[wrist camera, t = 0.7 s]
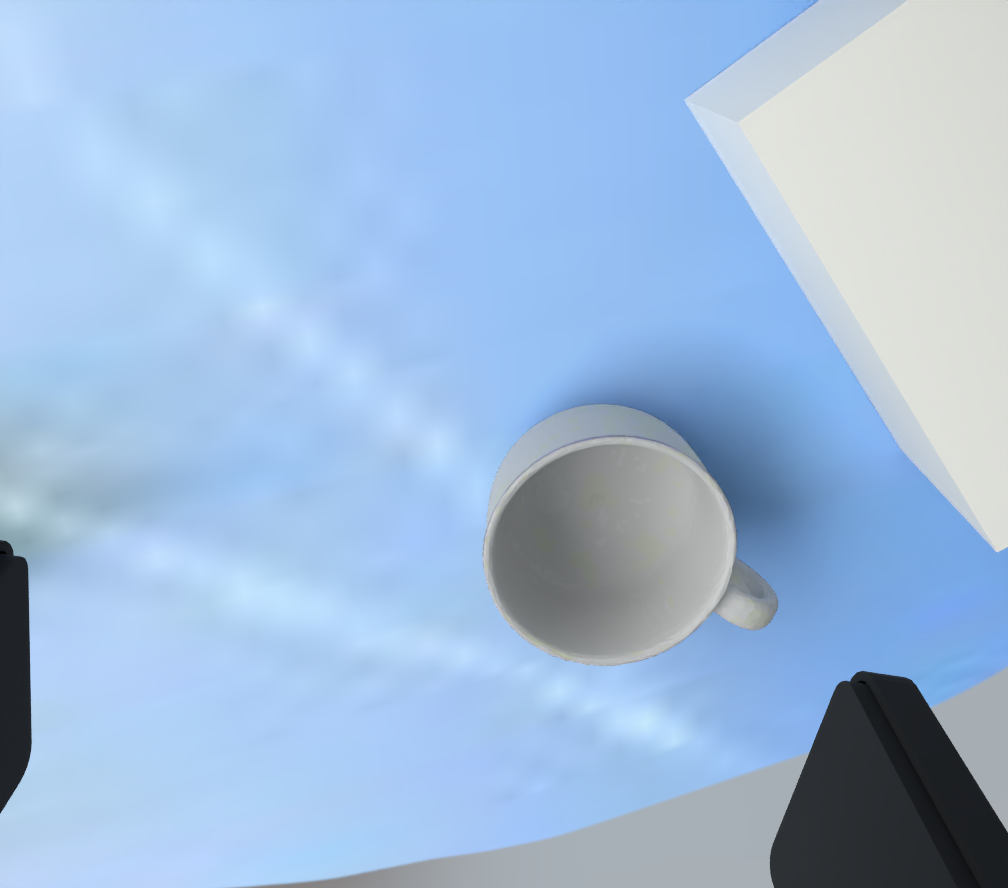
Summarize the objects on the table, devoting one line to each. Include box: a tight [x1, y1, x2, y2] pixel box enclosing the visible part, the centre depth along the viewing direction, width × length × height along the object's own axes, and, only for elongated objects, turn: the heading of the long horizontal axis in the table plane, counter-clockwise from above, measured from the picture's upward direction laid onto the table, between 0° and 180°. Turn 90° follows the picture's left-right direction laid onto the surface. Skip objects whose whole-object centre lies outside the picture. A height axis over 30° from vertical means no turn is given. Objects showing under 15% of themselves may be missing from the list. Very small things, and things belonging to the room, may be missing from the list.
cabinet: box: [684, 0, 1008, 552], centre depth 38 cm, size 20×9×10 cm, turn 36°
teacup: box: [483, 404, 778, 666], centre depth 44 cm, size 14×11×8 cm
